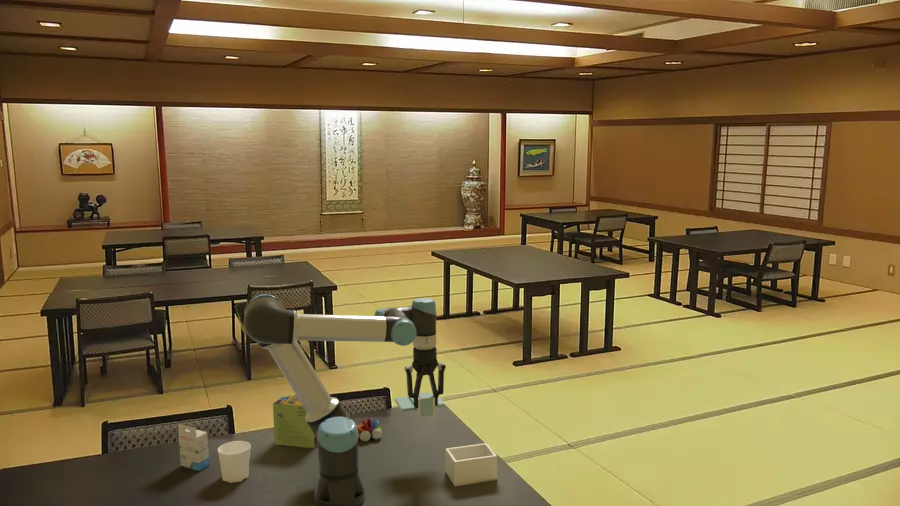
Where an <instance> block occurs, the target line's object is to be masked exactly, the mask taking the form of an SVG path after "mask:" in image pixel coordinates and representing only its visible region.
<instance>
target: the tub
mask: <svg viewBox="0 0 900 506" xmlns="http://www.w3.org/2000/svg"><path fill="white" fill-rule="evenodd" d="M445 474H446V475H447V477H448V478H449V480H450V481H451V483H452V484H453V487H460V486H466V485H472V484H479V483H484V482H493V481H497V480H498V455H497V453H495V451H494V450H493V449H492V448H491V447H490V446H489V444H488V443H487V442H484V443H476V444H469V445H462V446H455V447H448V448H447V447H446V448H445Z"/></svg>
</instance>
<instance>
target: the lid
mask: <svg viewBox="0 0 900 506" xmlns="http://www.w3.org/2000/svg"><path fill="white" fill-rule="evenodd" d="M431 395H433V393H430V392H422V393H421V392H420V393H419V398H420V399H421V418H424V417H432V415H433V397H432V396H431ZM394 401H395V403H396V405H397V407H398V408H399V410H400V411H401V413H405V412H412V411H417V408H415V407H414V399H413V398H410V397H409V396H408V395H407V396H401V397H399V396H398V397H394ZM445 405H446V404H445V402H444V401H443V399H442V398H441V397H440V396H439V397H438V405H437V406H435V409H437V408H445V407H446V406H445Z"/></svg>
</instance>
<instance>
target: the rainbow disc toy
mask: <svg viewBox="0 0 900 506" xmlns="http://www.w3.org/2000/svg"><path fill="white" fill-rule="evenodd" d="M361 423H362V424H356V425H357V430H358V439H360V441H361V442H364V443H365V442H369V440H370V439H371V438H372V439H374V440H379V439H381V437H382V435H383V431H382V427H381V426H379V425H380V421H379V420H378V419H375V420H373V418H372V417H369V418H367V421H365V419H362V420H361Z"/></svg>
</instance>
